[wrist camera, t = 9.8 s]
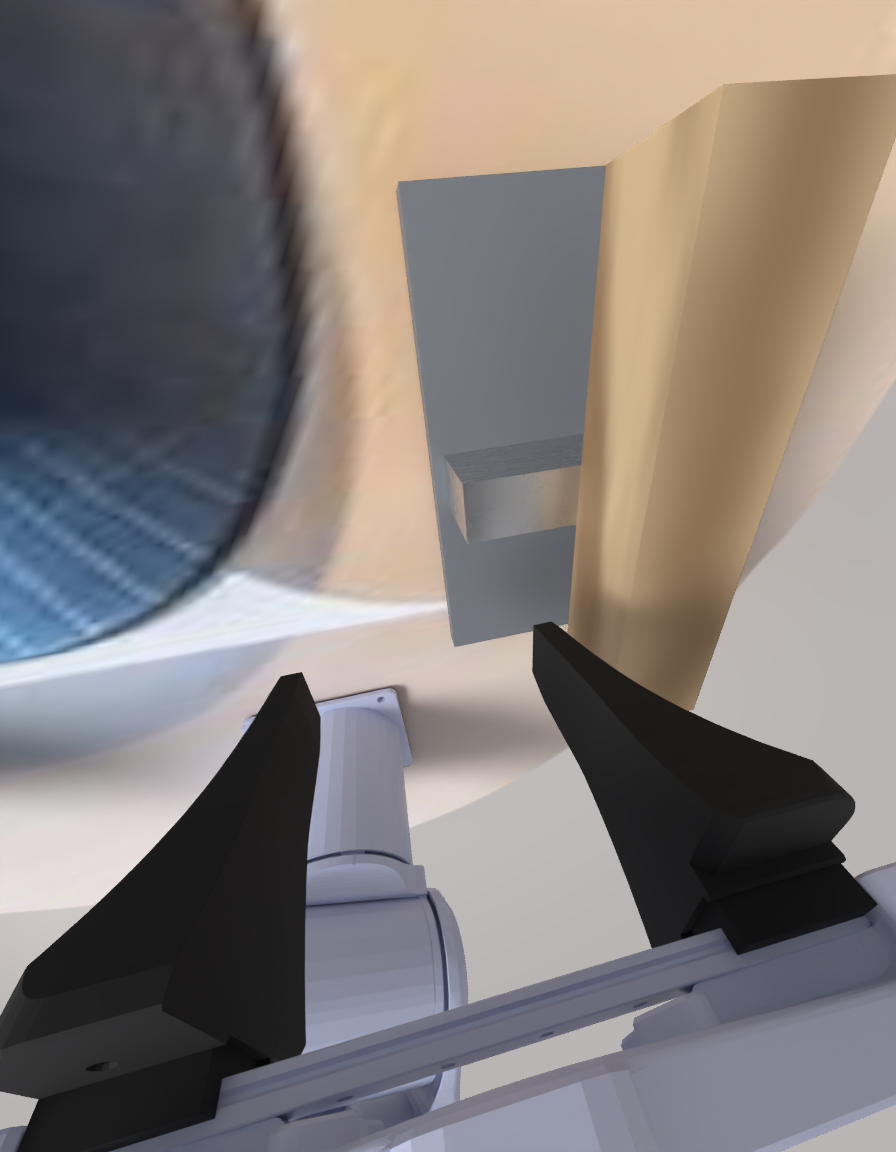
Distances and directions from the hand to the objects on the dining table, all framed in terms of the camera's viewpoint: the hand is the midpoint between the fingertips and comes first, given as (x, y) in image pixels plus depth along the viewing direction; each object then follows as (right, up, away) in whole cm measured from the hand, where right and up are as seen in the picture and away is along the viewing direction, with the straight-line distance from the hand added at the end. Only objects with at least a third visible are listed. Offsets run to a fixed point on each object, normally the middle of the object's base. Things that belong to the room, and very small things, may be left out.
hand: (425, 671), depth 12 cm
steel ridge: (+7, +9, +7) cm, 13 cm away
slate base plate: (+7, +9, +7) cm, 13 cm away
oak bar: (+8, +6, +3) cm, 10 cm away
